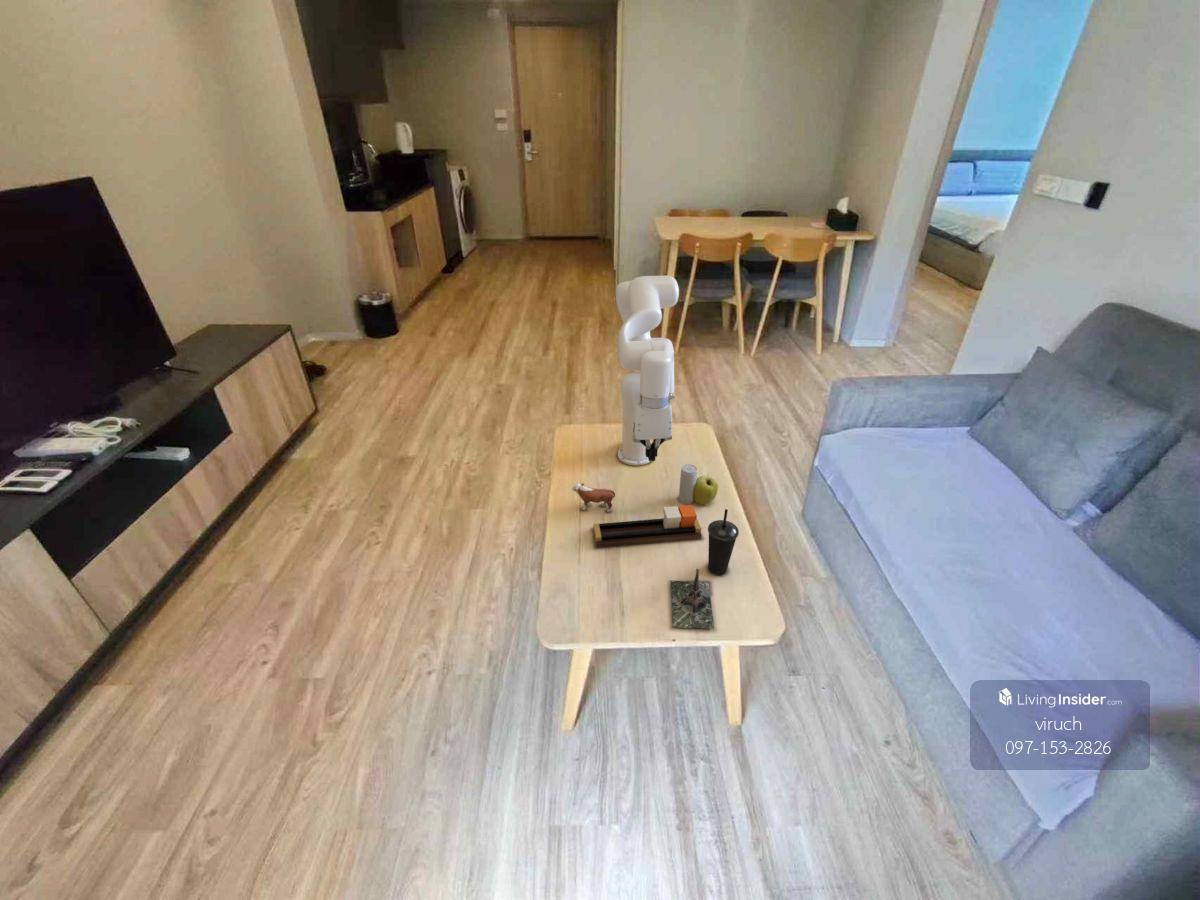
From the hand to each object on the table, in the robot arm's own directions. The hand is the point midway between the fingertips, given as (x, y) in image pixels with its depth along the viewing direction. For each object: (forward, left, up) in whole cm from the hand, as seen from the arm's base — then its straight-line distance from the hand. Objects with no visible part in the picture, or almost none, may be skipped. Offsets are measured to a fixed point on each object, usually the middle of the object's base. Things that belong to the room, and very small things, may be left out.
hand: (651, 458), depth 148 cm
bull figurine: (-8, -15, -22) cm, 28 cm away
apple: (-7, +19, -22) cm, 30 cm away
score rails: (+6, -2, -21) cm, 22 cm away
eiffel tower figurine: (+33, +5, -22) cm, 40 cm away
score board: (+6, -1, -22) cm, 23 cm away
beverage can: (-8, +14, -22) cm, 27 cm away
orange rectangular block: (+6, +10, -20) cm, 23 cm away
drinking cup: (+22, +15, -22) cm, 35 cm away
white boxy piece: (+6, +6, -20) cm, 22 cm away
